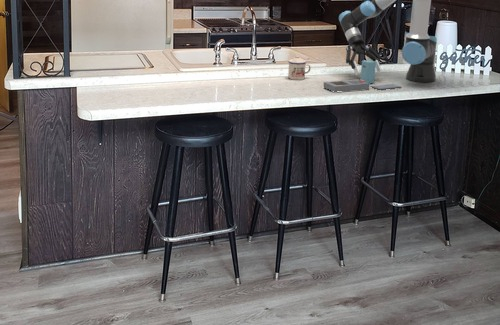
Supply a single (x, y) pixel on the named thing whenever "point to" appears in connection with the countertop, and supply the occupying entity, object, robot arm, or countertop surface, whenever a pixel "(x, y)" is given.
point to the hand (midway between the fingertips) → (368, 72)
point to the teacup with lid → (297, 68)
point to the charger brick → (368, 71)
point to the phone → (385, 87)
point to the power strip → (346, 85)
